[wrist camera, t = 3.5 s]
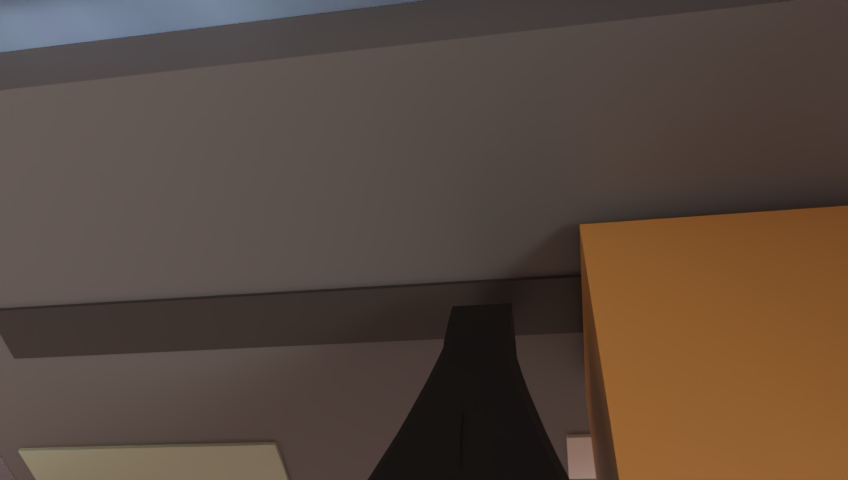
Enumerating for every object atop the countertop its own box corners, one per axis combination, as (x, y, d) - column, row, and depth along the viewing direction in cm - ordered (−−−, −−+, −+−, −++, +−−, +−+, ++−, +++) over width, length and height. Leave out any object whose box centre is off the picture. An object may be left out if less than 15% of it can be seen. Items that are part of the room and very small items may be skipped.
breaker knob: (916, 201, 9) (1222, 521, 5) (871, 383, 10) (1080, 732, 7) (579, 224, 9) (625, 523, 6) (585, 394, 11) (625, 717, 7)
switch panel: (975, -67, 9) (1083, -30, 7) (865, 394, 13) (918, 486, 12) (-117, 66, 12) (-225, 117, 10) (76, 419, 16) (23, 497, 14)
